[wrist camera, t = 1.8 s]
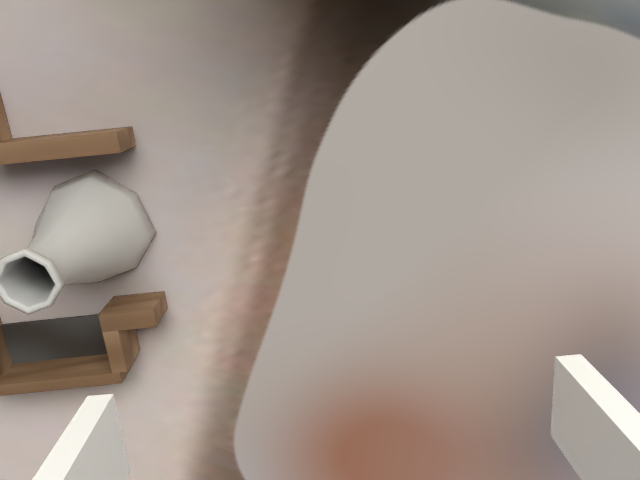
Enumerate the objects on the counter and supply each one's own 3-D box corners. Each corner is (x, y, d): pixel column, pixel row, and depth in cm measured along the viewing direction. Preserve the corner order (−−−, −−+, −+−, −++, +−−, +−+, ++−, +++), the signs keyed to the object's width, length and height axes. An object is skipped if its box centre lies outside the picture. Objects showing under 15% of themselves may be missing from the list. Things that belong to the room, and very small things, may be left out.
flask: (99, 297, 37) (32, 375, 28) (18, 220, 36) (-85, 275, 26) (176, 232, 36) (132, 290, 27) (96, 149, 34) (18, 179, 25)
